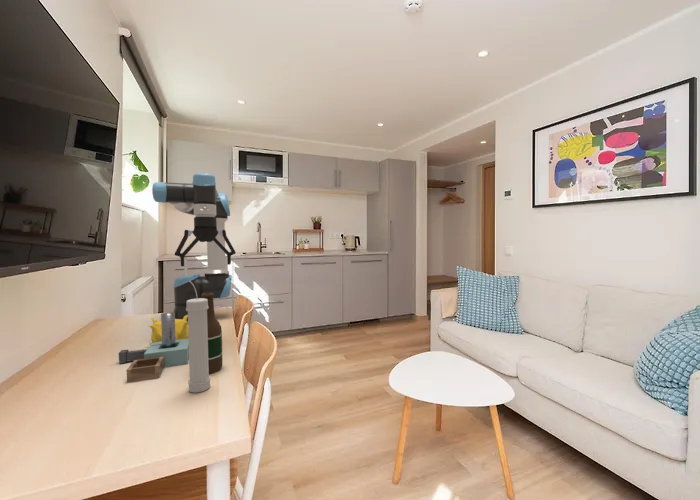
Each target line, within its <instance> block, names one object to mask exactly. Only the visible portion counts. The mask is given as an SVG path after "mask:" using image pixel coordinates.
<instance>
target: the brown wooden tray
mask: <svg viewBox="0 0 700 500" xmlns="http://www.w3.org/2000/svg"><path fill="white" fill-rule="evenodd" d="M131 362H132V363H131V364H130V365H129V366H128V368H127V369H126V383H134V382H140V381H147V380H152V379H153V380H154V379H159V378H161V375H162V374H163V371H164V370H165V367H164V356H163V357H155V358H148V359H140V360H134V361H131Z"/></svg>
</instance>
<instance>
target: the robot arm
mask: <svg viewBox="0 0 700 500" xmlns="http://www.w3.org/2000/svg"><path fill="white" fill-rule="evenodd" d="M216 185H217V182H216V176H215V175H213V174H212V173H206V172H198V173H197V172H196V173H194V174H193V176H192V183H185V182H184V183H182V182H181V183H180V182H164V181H160V182H159V181H156V182H154V183H152V187H151V189H152V190H151V191H152V198H153V201H155V202H156V203H162V204H164V203H166V204H167V203H169V204H170V205H172V206H174V208H175V209H176V210H177V211H179V212H181V213H183V214H184V213H185V214H188V215H191V216H194V218H193V230H188V229H184V233H183V237H182V239H181V241H180V242H179V243H178V244H179V245H178V246H177V249H176V250H175V252H174V256H176V257H179V259H180V266H181V267H184V275H181V276H177V277H175V279H174V283H173V284H174V285H173V289H174V291H173V292H174V308H173V311H172V312H175V319H183V318H184V316H186V315H188V311H186V308H187V305H186V302H187V301H188V300H190V299H197V298H201V294H203V293H209V292H210V293H213V294H214V296H213V299H224V298H228V297H229V296H230V295H231V287H232V279H233V276H232V274H230V271H229V268H228V267H229V265H231V264H232V259H231V257H232V255H236V253H237V252H236V250H235V249H234V247H233V245H232V242H231V241H230V239H229V238H228V236H227V231H226V229H225V228H226V227H225V225H226V224H225V223H226V222H227V221H228V219H229V218H228V217H230V216H231V210H230V209H231V208H230V204H229V197H228V195H227V194H226V193H222V192H221V193H220V192H218V190H217V187H216ZM192 235H193V236H194V237H195V238H194V239H193V241H192V242H190V244H189V245H188V246H187V247H186V248H185V249H184V251H182V250H183V248H184V247H185V244H186V242H187V240H188V238H189V237H190V236H192ZM198 242H199V243H206V250H207V251H206V253H207V254H206V255H207V257H206V258H207V269H206V271H205V272H204V275H203V276H201V274H200V273H192V274H189V271H188V268H189V267H188V256H186V255H187V254H188V253H189V252H190V251H191V250H192V249H193V247H194V246H195V245H196V244H197V243H198ZM226 245H227V246H228V248H229V250H230V251H229V250H228V249H227V248H226ZM181 251H182V252H181ZM189 281H191V282H192V283H193V285H194V286H193V285H192V284H191V282H189ZM194 287H195V289H196V292H197V297H196V292H195V289H194ZM186 321H187V322H188V317H187V320H186Z"/></svg>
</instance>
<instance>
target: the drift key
mask: <svg viewBox="0 0 700 500" xmlns="http://www.w3.org/2000/svg"><path fill="white" fill-rule="evenodd" d="M147 349H148V348H143V349H138V350H137V349H135V350H129V349H121V350H120V351H119V352H118V364H126V363H127V362H133V361H134V360H140V359H144V353H145V352H146V351H147Z"/></svg>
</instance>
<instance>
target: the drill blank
mask: <svg viewBox="0 0 700 500" xmlns="http://www.w3.org/2000/svg"><path fill="white" fill-rule="evenodd" d="M160 318H161V319H160V321H161V329H162V349H164V348H173V347H176V336H175V312H173V311H167V312H162V313H160Z"/></svg>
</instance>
